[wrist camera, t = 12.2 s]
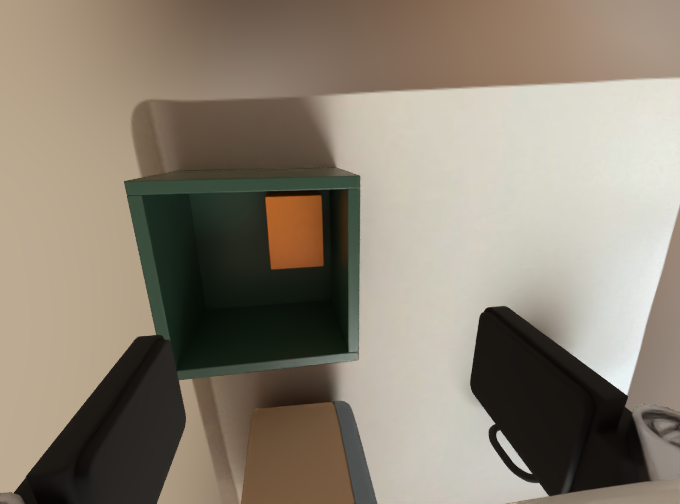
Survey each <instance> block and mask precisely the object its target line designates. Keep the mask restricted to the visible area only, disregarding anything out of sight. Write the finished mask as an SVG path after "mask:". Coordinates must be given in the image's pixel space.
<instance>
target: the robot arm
mask: <svg viewBox="0 0 680 504" xmlns="http://www.w3.org/2000/svg"><path fill="white" fill-rule="evenodd" d="M470 386H471V390H472V392H473V394H474V395H475V397H476V398H477V399H478V401H479V402H480V403H481V405H482V406H483V407H484V409H485V410H486V412H487V413H488V414H489V416H490V417H491V418H492V420H493V421H494V422H495V424H496V425H497V426H498V428H499V429H500V430H501V432H502V433H503V435H504V436H505V437H506V439H507V440H508V441H509V443H510V444H511V445H512V447H513V448H514V449H515V451H516V452H517V453H518V455H519V456H520V457H521V459H522V460H523V462H524V463H525V464H526V466H527V467H528V468H529V470H530V471H531V472H532V474H533V475H534V476H535V478H536V479H537V480H538V482H539V483H540V485H541V486H542V487H543V489H544V490H545V491H546V493H547V494H548V495H549V497H543V498H537V499H531V500H525V501H519V502H513V503H507V504H680V412H678V411H675V410H672V409H670V408H667V407H662V406H658V405H648V404H643V405H639V406H636V407H635V409H633V412H631V411H629V410H628V409H627V408H626V407H625V404H626V401H627V398H628V396H627V395H626V394H624V393H623V392H621V391H620V390H619V389H617V388H616V387H615V386H613V385H612V384H611V383H609V382H608V381H607V380H605V379H604V378H603V377H601V376H600V375H599V374H597V373H596V372H594V371H593V370H592V369H590V368H589V367H588V366H586V365H585V364H584V363H582V362H581V361H580V360H578V359H577V358H576V357H574V356H573V355H572V354H570V353H569V352H568V351H566V350H565V349H563V348H562V347H561V346H559V345H558V344H557V343H555V342H554V341H553V340H551V339H550V338H549V337H547V336H546V335H545V334H543V333H542V332H541V331H539V330H538V329H536V328H535V327H534V326H532V325H531V324H530V323H528V322H527V321H526V320H524V319H523V318H522V317H520V316H519V315H518V314H516V313H515V312H514V311H512V310H511V309H510V308H508V307H506V306H500V307H488V308H486V309H485V311H484V312H483V313H481V315H480V318H479V325H478V332H477V338H476V345H475V352H474V359H473V366H472V373H471V380H470ZM185 423H186V416H185V409H184V404H183V399H182V395H181V390H180V385H179V380H178V375H177V370H176V365H175V360H174V355H173V350H172V345H171V342H170V340H168V339H167V340H164V338H163V336H162V335H153V336H140V337H138V338H136V339H135V340H134V342H133V343H132V344H131V345H130V347H129V348H128V349H127V351H126V352H125V353H124V354H123V355H122V357H121V358H120V359H119V360H118V362H117V363H116V364H115V365H114V367H113V368H112V369H111V370H110V372H109V373H108V374H107V375H106V377H105V378H104V379H103V381H102V382H101V383H100V384H99V385H98V387H97V388H96V389H95V390H94V392H93V393H92V394H91V396H90V397H89V398H88V399H87V401H86V402H85V403H84V404H83V406H82V407H81V408H80V409H79V411H78V412H77V413H76V414H75V416H74V417H73V418H72V419H71V421H70V422H69V423H68V424H67V426H66V427H65V428H64V430H63V431H62V432H61V433H60V435H59V436H58V437H57V438H56V439H55V441H54V442H53V443H52V444H51V446H50V447H49V448H48V450H47V451H46V452H45V453H44V454H43V456H42V457H41V458H40V460H39V461H38V462H37V463H36V465H35V466H34V467H33V468H32V470H31V471H30V472H29V473H28V475H27V476H26V478H25V479H24V481H23V482H22V483H21V484H20V486H19V487H18V488H17V490H16V491H15V492H14V493H11V492H9V493H0V504H157V501H158V499H159V496H160V493H161V491H162V488H163V485H164V482H165V480H166V477H167V474H168V472H169V469H170V466H171V464H172V461H173V458H174V455H175V453H176V450H177V447H178V445H179V442H180V439H181V437H182V434H183V431H184V428H185Z"/></svg>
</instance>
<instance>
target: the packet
mask: <svg viewBox="0 0 680 504" xmlns="http://www.w3.org/2000/svg"><path fill="white" fill-rule="evenodd" d="M265 203H266V215H267V228H268V240H269V252H270V264H271V269H286V268H301V267H316V266H324V258H323V223H322V195H321V194H320V193H319V191H318V190H293V191H268V192H267V194H266V196H265Z"/></svg>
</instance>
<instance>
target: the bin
mask: <svg viewBox="0 0 680 504" xmlns="http://www.w3.org/2000/svg"><path fill="white" fill-rule="evenodd" d="M124 184H125V189H126V193H127V198H128V203H129V208H130V212H131V217H132V222H133V227H134V232H135V237H136V241H137V246H138V251H139V255H140V260H141V265H142V270H143V275H144V279H145V284H146V289H147V293H148V298H149V303H150V308H151V312H152V317H153V322H154V326H155V331H156V335H162V336H163V338H164V340H167V339H168V340H170V342H171V345H172V350H173V355H174V360H175V365H176V370H177V375H178V380H184V379H194V378H203V377H212V376H221V375H230V374H239V373H248V372H257V371H266V370H275V369H284V368H293V367H302V366H311V365H320V364H329V363H338V362H347V361H356V360H358V359H359V352H358V351H359V261H360V189H359V188H360V176H359V175H356V174H353V173H351V172H348V171H345V170H342V169H339V168H289V169H237V170H185V171H173V172H168V173H163V174H158V175H153V176H148V177H143V178H138V179H133V180H128V181H124ZM293 190H318V191H319V193H320V194H321V195H322V223H323V258H324V266H316V267H301V268H286V269H271V264H270V252H269V240H268V228H267V215H266V203H265V196H266V194H267V192H268V191H293Z"/></svg>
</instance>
